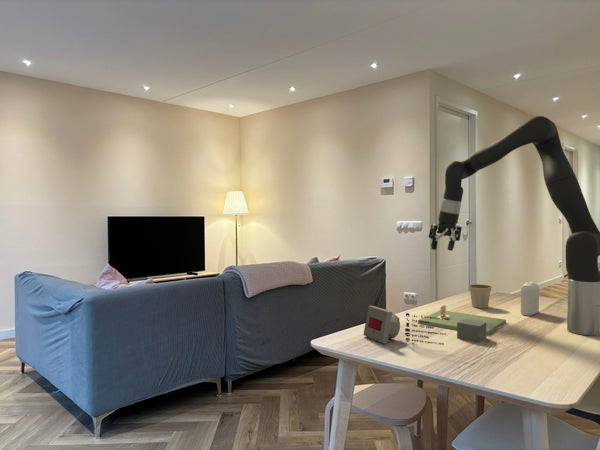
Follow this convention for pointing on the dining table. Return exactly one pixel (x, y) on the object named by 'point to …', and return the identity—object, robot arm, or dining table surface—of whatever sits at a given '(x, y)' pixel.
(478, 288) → the flower pot
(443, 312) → the header pins
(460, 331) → the block
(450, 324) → the board
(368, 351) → the dining table surface
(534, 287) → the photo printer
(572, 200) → the robot arm
